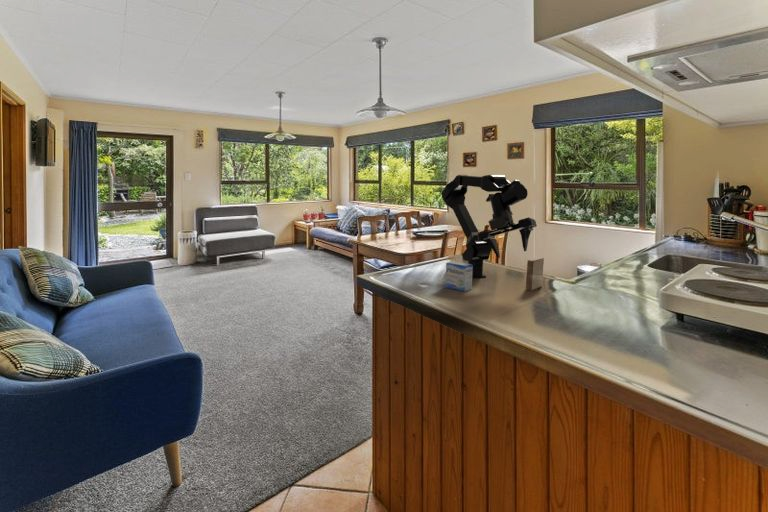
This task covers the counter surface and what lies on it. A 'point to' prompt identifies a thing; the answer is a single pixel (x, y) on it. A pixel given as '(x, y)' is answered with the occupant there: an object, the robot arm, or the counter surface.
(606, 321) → the counter surface
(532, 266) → the walnut tile
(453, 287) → the medicine box
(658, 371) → the counter surface
